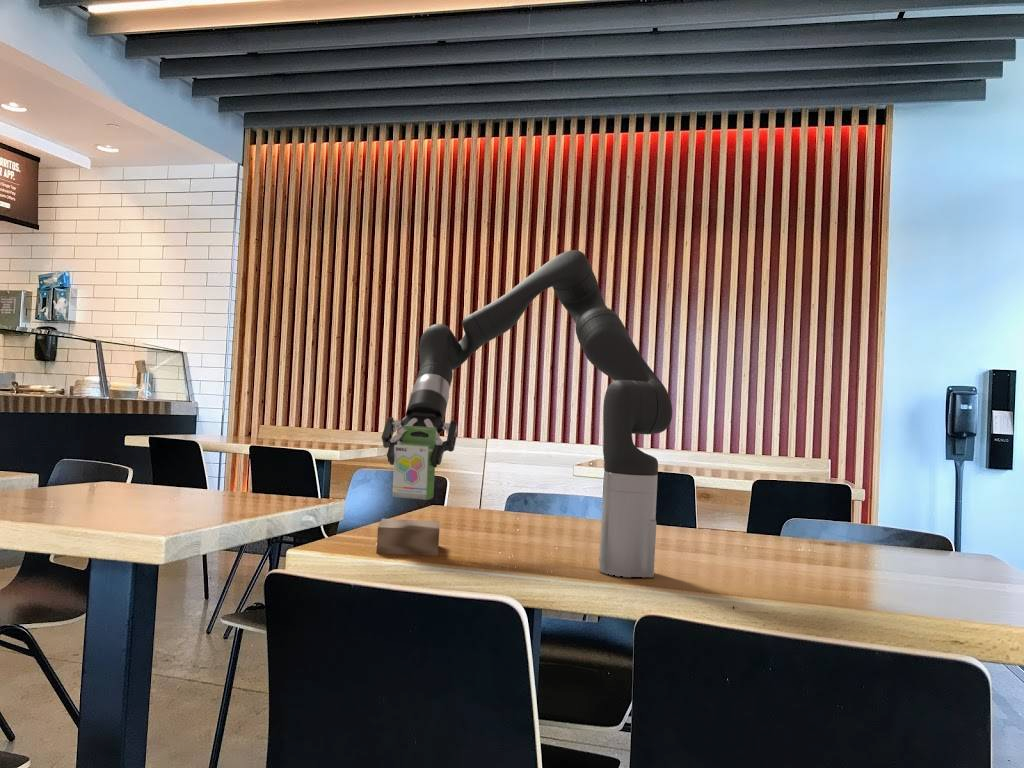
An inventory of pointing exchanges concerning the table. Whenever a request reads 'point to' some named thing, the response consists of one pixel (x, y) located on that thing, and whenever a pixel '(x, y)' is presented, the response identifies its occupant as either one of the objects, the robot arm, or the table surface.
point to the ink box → (414, 465)
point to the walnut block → (408, 537)
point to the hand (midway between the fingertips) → (412, 463)
